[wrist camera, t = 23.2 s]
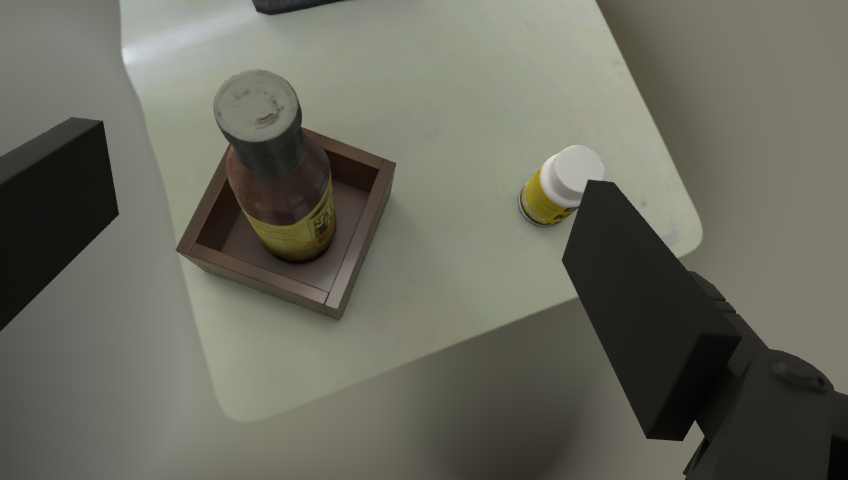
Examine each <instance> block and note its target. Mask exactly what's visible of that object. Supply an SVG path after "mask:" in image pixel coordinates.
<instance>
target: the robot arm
mask: <svg viewBox="0 0 848 480" xmlns="http://www.w3.org/2000/svg"><path fill="white" fill-rule="evenodd" d="M118 215H119V212H118V206H117V200H116V195H115V189H114V183H113V178H112V171H111V165H110V159H109V154H108V148H107V142H106V136H105V130H104V124H103V121H99V120H90V119H81V118H74V117H71V118H70V119H68V120H66V121H64V122H62V123H60V124H59V125H57V126H55V127H53V128H51V129H50V130H48V131H47V132H44V133H42V134H41V135H39V136H37V137H35V138H33V139H32V140H30V141H28V142H26V143H24V144H23V145H21V146H19V147H17V148H15V149H14V150H12V151H10V152H8V153H7V154H5V155H3V156H1V157H0V331H1V330H2V329H3V328H4V327H5V326H6V325H7V324H8V323H9V322H10V321H11V320H12V319H13V318H14V317H15V316H16V315H17V314H18V313H19V312H20V311H21V310H22V309H24V308H25V306H27V304H29V303H30V302H31V301H32V300H33V299H34V298H35V297H36V296H37V295H38V294H39V293H40V292H41V291H42V290H43V289H44V288H45V287H46V286H47V285H48V284H49V283H50V282H51V281H52V280H53V279H54V278H55V277H56V276H57V275H58V274H59V273H60V272H61V271H62V270H63V269H64V268H65V267H66V266H67V265H68V264H69V263H70V262H71V261H72V260H73V259H74V258H75V257H76V256H77V255H78V254H79V253H80V252H81V251H82V250H83V249H84V248H85V247H86V246H87V245H88V244H89V243H90V242H91V241H92V240H93V239H94V238H96V236H98V235H99V234H100V232H101V231H102V230H104V228H106V227H107V226H108V225H109V224H110V223H111V221H113V220H114V219H115V218H116V217H117V216H118ZM562 262H563V264H564V266H565V268H566V270H567V273H568V275H569V277H570V279H571V281H572V283H573V285H574V287H575V289H576V291H577V293H578V296H579V298H580V300H581V302H582V304H583V306H584V308H585V310H586V312H587V314H588V316H589V318H590V321H591V323H592V325H593V327H594V329H595V331H596V333H597V335H598V337H599V340H600V342H601V344H602V346H603V348H604V350H605V352H606V354H607V356H608V358H609V361H610V363H611V365H612V367H613V369H614V371H615V373H616V375H617V377H618V379H619V381H620V384H621V386H622V388H623V390H624V392H625V394H626V396H627V398H628V400H629V402H630V405H631V407H632V409H633V411H634V413H635V415H636V417H637V419H638V421H639V423H640V426H641V428H642V430H643V432H644V434H645V436H646V438H647V439H660V440H673V441H683V440H684V438H685V436H686V434H687V433H688V431H689V429H690V427H691V426H692V424H693V422H694V421H695V420H696V422H697V424H698V425H699V427H700V429H701V430H702V432H703V434H704V436H705V437H704V438H703V440H702V442H701V443H700V445H699V447H698V448H697V450H696V452H695V453H694V455H693V457H692V458H691V460H690V462H689V463H688V465H687V467H686V468H685V470H684V472H683V474H684V475H686V478H685V480H848V395H846V394H842V393H839V392H836V391H834V388H833V385H832V384H831V382H830V381H829V380H828V379H827V377H826V376H825V375H824V374H823V373H821V372H820V371H819V370H817V369H816V368H815V367H814V366H813V365H811V364H809V363H807V362H806V361H804V360H802V359H800V358H799V357H797V356H794V355H791V354H789V353H786V352H783V351H779V350H772V349H769V348H768V347H767V346H766V345H765V344H764V343H763V341H762V340H761V339H760V338H759V337H758V336H757V334H755V332H754V331H753V330H752V329H751V328H750V326H749V325H748V324H747V323H746V322H745V321H744V320H743V318H742V317H741V316H740V315H739V314H736V311H735V309H734V308H733V307H732V306H731V305H730V304H729V303H728V302H726V299H725V298H724V297H723V296H722V294H721V293H720V292H719V291H718V290H717V289H716V287H715V286H714V285H713V284H711V283H710V282H708V281H707V280H705V279H704V278H703V277H701V276H700V275H698V274H697V273H695V272H693V271H687V270H686V269H685V267H684V266H683V265H682V264H681V263H680V261H679V260H678V259H677V258H676V257H675V255H674V254H673V253H672V252H671V251H670V249H669V248H668V247H667V246H666V245H665V243H664V242H663V241H662V240H661V239H660V237H659V236H658V235H657V234H656V233H655V231H654V230H653V229H652V228H651V227H650V225H649V224H648V223H647V222H646V221H645V219H644V218H643V217H642V216H641V215H640V213H639V212H638V211H637V210H636V209H635V207H634V206H633V205H632V204H631V203H630V201H629V200H628V199H627V198H626V197H625V195H624V194H623V193H622V192H621V191H620V189H619V188H618V187H617V186H616V185H615V183H614V182H607V181H598V180H590V179H588V181H587V184H586V187H585V190H584V193H583V196H582V199H581V202H580V205H579V209H578V212H577V215H576V218H575V221H574V224H573V227H572V230H571V233H570V237H569V240H568V243H567V246H566V249H565V252H564V255H563V258H562Z"/></svg>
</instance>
